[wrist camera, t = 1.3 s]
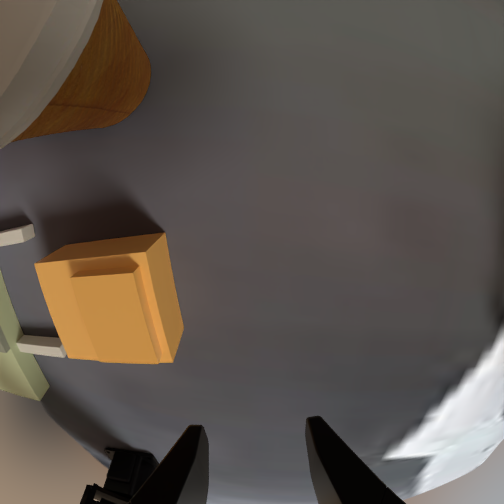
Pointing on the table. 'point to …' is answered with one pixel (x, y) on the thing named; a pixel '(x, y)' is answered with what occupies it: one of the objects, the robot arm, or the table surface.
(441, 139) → the table surface
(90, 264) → the orange block with panel
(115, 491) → the robot arm
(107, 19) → the disposable coffee cup
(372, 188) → the table surface
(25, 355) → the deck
